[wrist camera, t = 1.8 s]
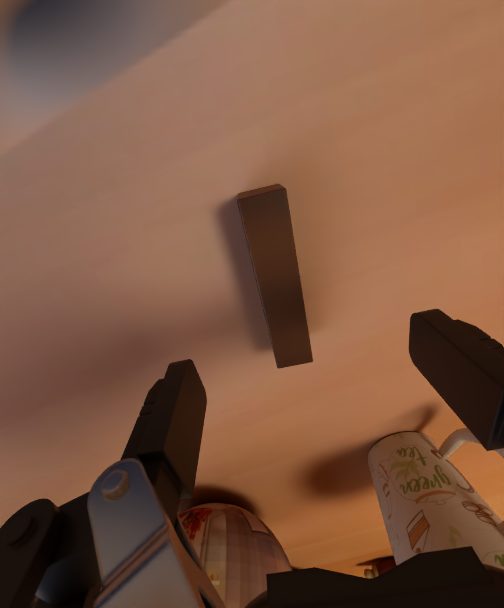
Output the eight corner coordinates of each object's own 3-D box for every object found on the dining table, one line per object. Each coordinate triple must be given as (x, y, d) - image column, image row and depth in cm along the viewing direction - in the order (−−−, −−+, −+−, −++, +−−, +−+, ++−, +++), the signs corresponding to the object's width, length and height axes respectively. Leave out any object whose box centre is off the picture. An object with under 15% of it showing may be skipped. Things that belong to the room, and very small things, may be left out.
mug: (338, 470, 26) (387, 631, 17) (415, 376, 20) (547, 541, 12) (411, 484, 27) (491, 638, 19) (501, 399, 22) (677, 561, 13)
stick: (237, 193, 14) (236, 199, 12) (279, 183, 14) (286, 187, 12) (273, 345, 19) (277, 369, 16) (305, 339, 18) (313, 362, 16)
